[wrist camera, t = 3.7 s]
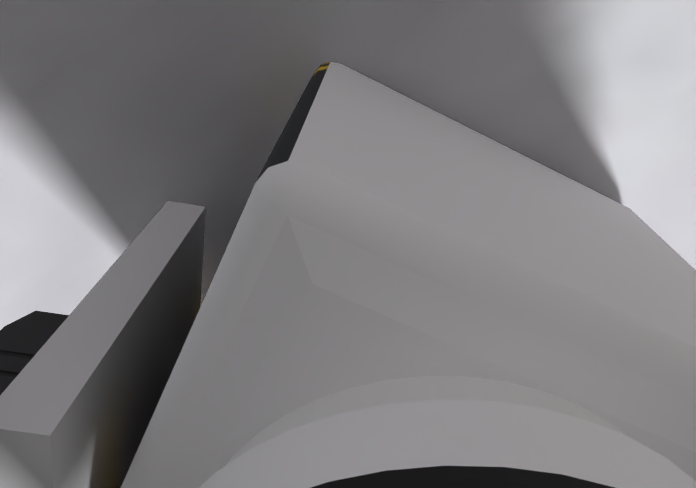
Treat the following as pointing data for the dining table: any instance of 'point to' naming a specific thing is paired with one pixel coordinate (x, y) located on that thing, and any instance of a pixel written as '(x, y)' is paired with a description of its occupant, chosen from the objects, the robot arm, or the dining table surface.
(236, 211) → the dining table surface
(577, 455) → the medicine bottle
